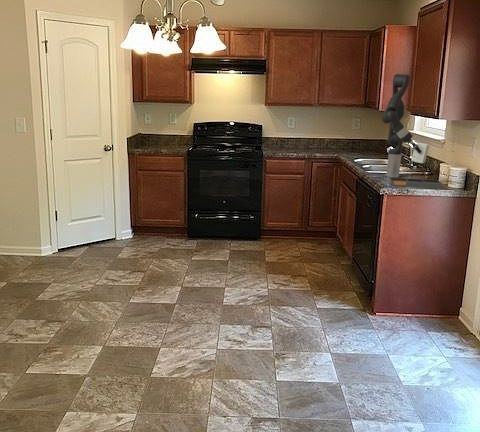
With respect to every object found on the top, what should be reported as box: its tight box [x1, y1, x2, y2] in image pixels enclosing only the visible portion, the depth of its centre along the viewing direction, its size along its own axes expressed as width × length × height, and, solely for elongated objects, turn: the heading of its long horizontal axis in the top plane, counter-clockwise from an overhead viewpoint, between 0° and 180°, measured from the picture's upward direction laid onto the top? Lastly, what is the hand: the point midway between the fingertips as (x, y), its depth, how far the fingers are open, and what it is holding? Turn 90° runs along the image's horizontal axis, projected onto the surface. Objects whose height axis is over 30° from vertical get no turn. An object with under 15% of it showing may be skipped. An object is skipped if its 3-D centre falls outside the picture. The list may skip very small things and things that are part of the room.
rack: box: [387, 177, 443, 190], centre depth 354 cm, size 12×34×4 cm, turn 83°
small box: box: [411, 142, 430, 164], centre depth 360 cm, size 8×6×13 cm
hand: (419, 151), depth 360 cm, fingers closed on small box, 8 cm apart
